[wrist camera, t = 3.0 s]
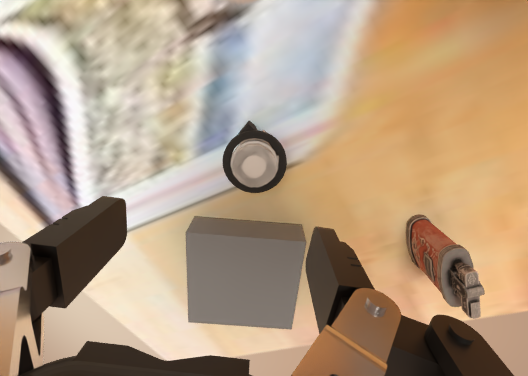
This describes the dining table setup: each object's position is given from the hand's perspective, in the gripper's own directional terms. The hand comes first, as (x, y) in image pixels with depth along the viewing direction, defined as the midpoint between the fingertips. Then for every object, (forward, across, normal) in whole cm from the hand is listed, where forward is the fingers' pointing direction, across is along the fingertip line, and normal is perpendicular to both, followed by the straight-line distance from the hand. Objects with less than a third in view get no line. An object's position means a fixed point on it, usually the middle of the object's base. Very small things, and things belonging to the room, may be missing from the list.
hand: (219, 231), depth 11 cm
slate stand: (+20, -2, +17) cm, 27 cm away
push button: (+20, -2, 0) cm, 21 cm away
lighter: (+21, -24, +10) cm, 33 cm away
